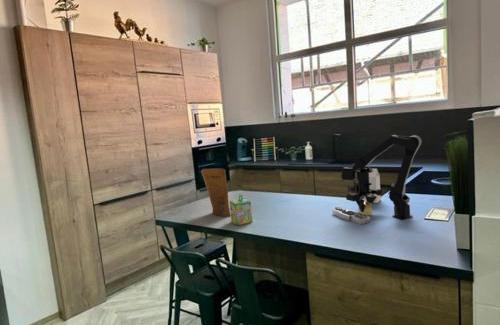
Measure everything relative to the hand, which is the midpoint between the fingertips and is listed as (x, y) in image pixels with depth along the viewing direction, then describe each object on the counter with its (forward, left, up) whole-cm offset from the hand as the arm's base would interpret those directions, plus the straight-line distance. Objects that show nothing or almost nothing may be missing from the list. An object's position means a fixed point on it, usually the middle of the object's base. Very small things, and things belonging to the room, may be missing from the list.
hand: (365, 211), depth 171 cm
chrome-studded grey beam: (0, +9, -2) cm, 10 cm away
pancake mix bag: (+54, +60, -2) cm, 81 cm away
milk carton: (+15, -19, -2) cm, 24 cm away
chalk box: (+32, +55, -2) cm, 64 cm away
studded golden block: (0, 0, -2) cm, 2 cm away
